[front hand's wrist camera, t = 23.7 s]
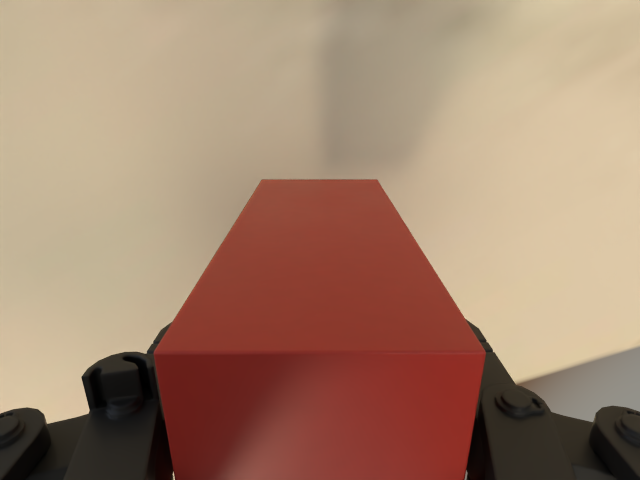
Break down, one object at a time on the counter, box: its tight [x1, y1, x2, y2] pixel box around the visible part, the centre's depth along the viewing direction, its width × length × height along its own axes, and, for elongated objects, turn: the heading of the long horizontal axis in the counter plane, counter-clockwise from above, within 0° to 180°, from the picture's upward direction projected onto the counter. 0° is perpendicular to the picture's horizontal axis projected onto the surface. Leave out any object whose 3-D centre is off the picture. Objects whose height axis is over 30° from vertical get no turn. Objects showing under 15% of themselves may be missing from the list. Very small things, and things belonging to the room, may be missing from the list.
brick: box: [154, 180, 486, 480], centre depth 12 cm, size 5×7×12 cm
